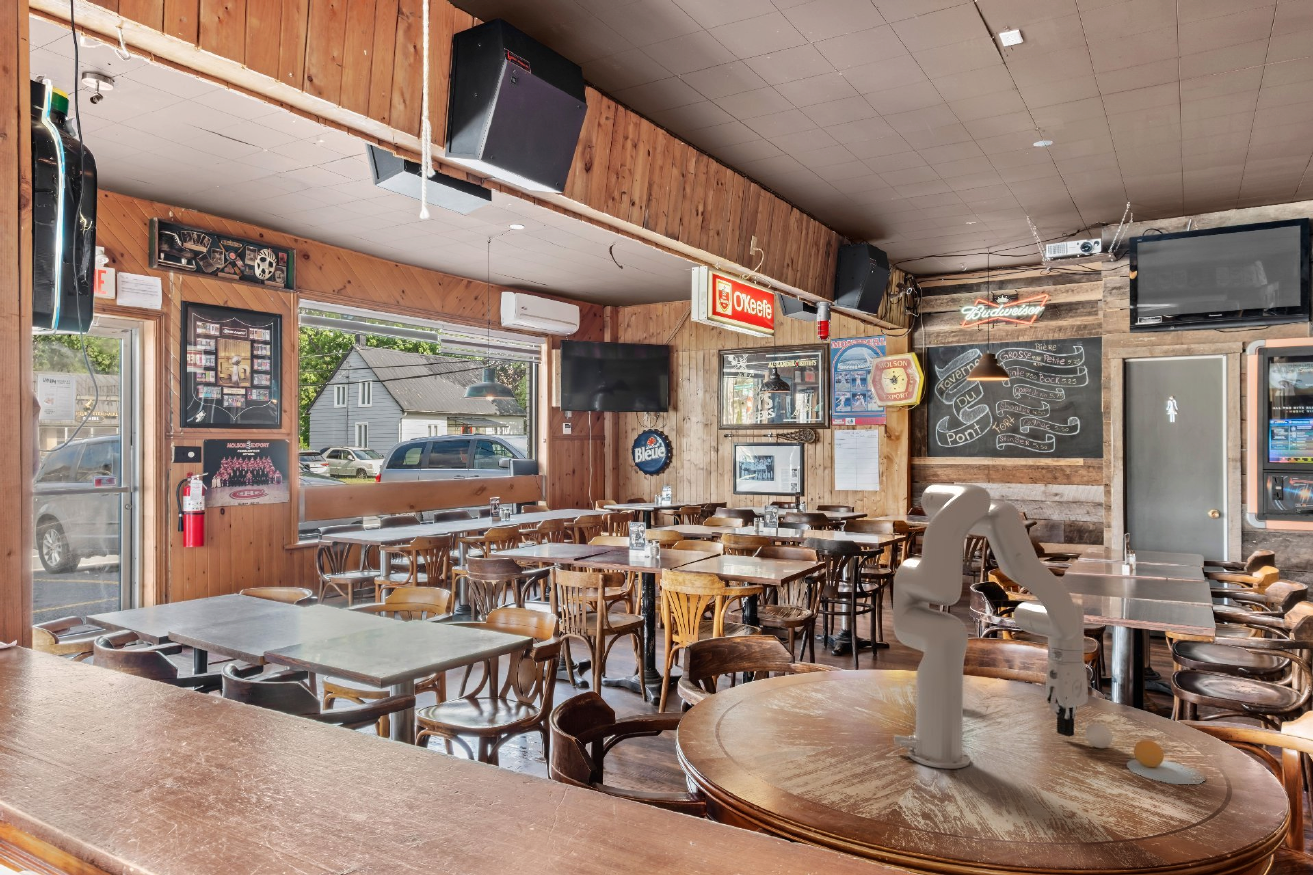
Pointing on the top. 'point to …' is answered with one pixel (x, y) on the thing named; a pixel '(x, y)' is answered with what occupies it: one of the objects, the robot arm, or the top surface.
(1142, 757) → the orange ball
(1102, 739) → the cue ball
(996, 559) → the robot arm
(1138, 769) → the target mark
